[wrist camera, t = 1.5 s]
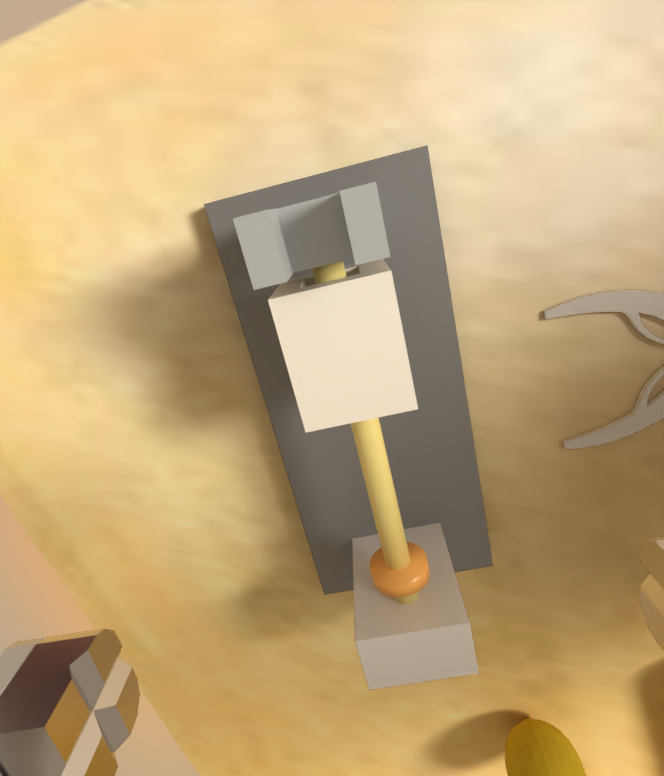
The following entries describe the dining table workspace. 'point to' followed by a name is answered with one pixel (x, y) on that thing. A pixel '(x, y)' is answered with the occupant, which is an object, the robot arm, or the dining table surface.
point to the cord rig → (379, 435)
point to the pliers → (631, 307)
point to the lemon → (540, 751)
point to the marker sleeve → (344, 346)
